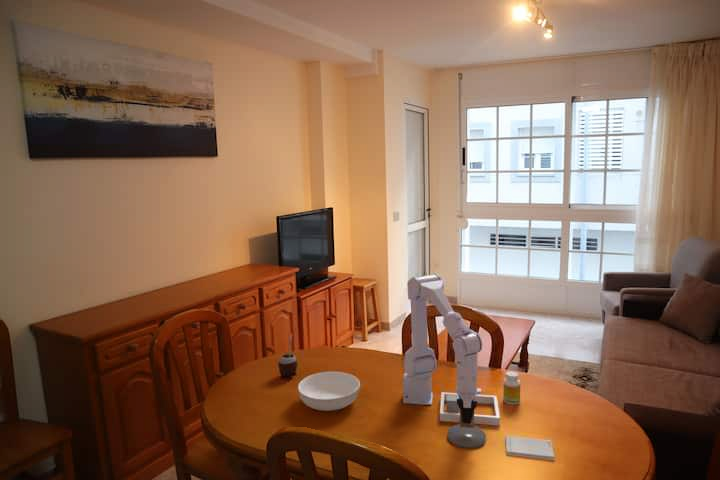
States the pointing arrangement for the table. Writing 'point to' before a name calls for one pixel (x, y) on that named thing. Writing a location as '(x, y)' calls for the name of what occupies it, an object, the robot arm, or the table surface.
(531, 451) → the hard drive
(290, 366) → the mate gourd
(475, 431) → the slate pad
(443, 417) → the white rectangular frame
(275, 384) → the table surface
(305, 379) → the serving bowl
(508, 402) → the supplement bottle
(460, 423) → the labelled walnut box
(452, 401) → the plain grey box
